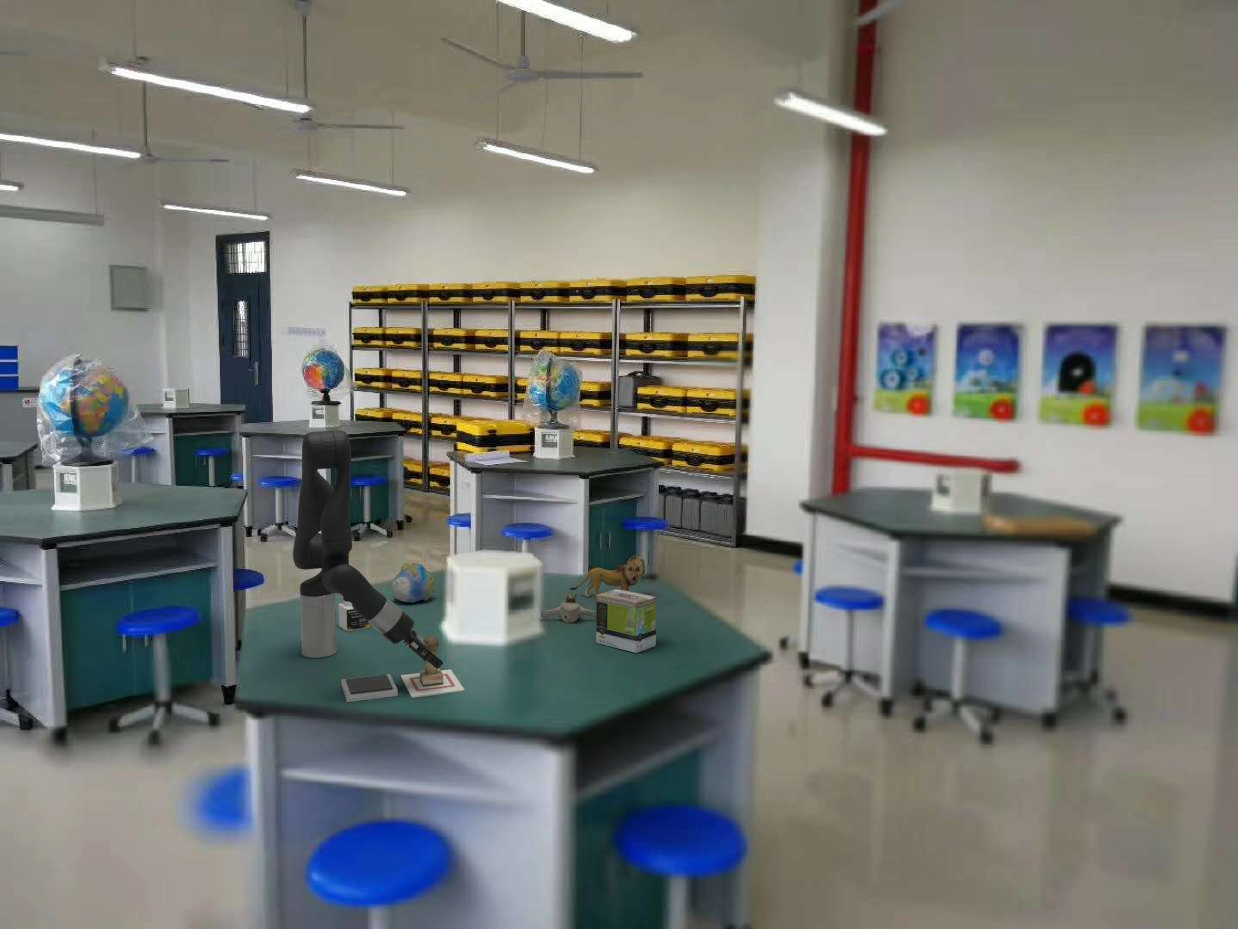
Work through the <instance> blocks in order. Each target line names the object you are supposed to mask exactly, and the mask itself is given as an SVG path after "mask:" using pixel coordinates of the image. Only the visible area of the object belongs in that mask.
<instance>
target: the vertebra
mask: <svg viewBox="0 0 1238 929" xmlns="http://www.w3.org/2000/svg"><path fill="white" fill-rule="evenodd" d="M563 598H564V601H563V602H561V603H560V605H559V606H557V607H554V608H551V609H548V610H547V609H546V610H540V611H541V617H542V619H543V620H545V619H547V618H548V617H553V616H558V617H560V618H561V619H562V621H563V622H564V623H567V624H573V623H575V622H577V621H578V620H579V619H580V618H579V617H582V616H587V617H591V618H593V619H595V620H596V610H592V609H589V608H588V609H587V608H585V607H583V606H581V604H579V603H578V602H577V599H578V593H572V592H571V591H570V592H568V593H563Z"/></svg>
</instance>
